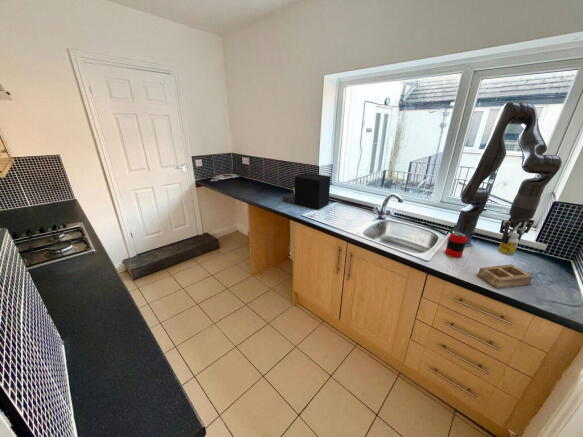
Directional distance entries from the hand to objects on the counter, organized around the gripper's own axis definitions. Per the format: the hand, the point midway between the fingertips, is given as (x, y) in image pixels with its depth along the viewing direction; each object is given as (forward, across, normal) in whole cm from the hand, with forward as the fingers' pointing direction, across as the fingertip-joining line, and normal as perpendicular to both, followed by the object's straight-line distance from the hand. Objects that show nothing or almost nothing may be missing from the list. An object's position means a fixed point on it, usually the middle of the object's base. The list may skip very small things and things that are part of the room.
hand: (509, 242), depth 104 cm
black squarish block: (+19, +62, -117) cm, 133 cm away
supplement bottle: (+6, 0, 0) cm, 6 cm away
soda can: (+19, +3, -22) cm, 29 cm away
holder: (+19, -2, +2) cm, 19 cm away
